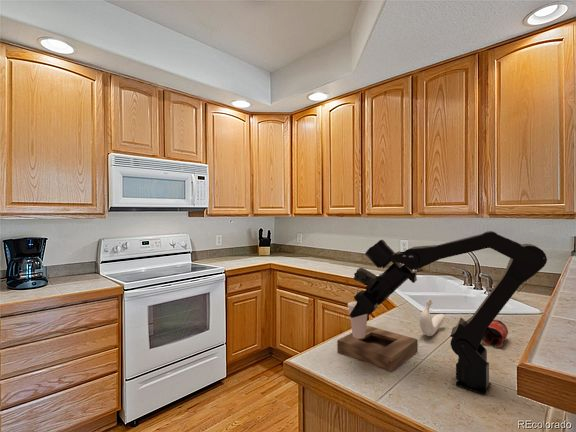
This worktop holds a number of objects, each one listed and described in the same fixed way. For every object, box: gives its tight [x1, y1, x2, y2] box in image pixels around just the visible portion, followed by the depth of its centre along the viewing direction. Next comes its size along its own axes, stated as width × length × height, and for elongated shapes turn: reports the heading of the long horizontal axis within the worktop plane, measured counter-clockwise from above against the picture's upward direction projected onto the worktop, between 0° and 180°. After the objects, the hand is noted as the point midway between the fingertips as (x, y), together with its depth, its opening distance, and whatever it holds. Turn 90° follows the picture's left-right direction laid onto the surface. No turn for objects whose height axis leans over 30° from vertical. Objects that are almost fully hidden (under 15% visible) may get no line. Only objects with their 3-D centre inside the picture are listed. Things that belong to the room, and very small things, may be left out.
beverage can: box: [481, 319, 509, 349], centre depth 106 cm, size 7×12×7 cm, turn 137°
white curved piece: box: [419, 298, 446, 337], centre depth 113 cm, size 5×19×15 cm, turn 141°
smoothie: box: [347, 288, 368, 338], centre depth 94 cm, size 6×6×14 cm
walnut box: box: [336, 325, 419, 373], centre depth 98 cm, size 18×18×4 cm
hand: (354, 313), depth 95 cm, fingers closed on smoothie, 6 cm apart
